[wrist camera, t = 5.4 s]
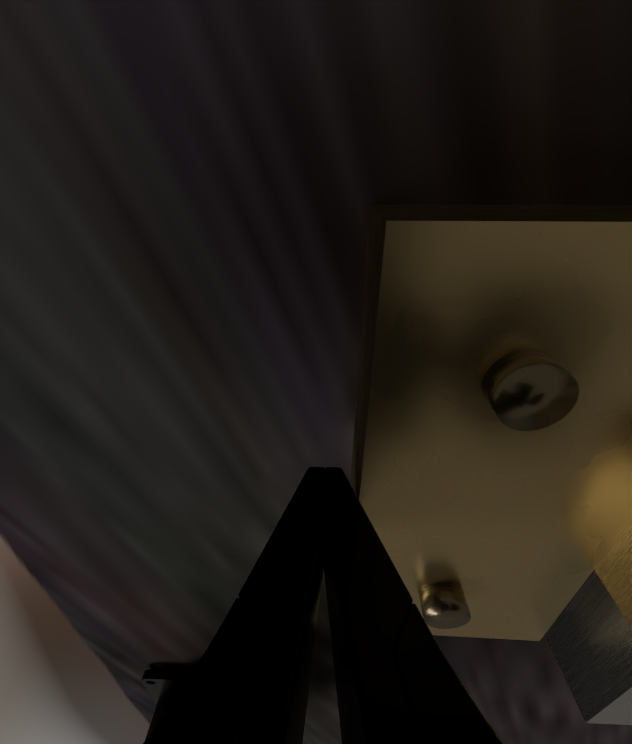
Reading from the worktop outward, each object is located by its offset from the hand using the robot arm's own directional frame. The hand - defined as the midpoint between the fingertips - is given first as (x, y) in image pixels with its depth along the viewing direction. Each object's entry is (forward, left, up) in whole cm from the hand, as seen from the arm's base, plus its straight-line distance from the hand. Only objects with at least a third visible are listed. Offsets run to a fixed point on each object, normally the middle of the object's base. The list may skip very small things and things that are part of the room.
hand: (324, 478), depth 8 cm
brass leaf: (0, -6, -2) cm, 6 cm away
